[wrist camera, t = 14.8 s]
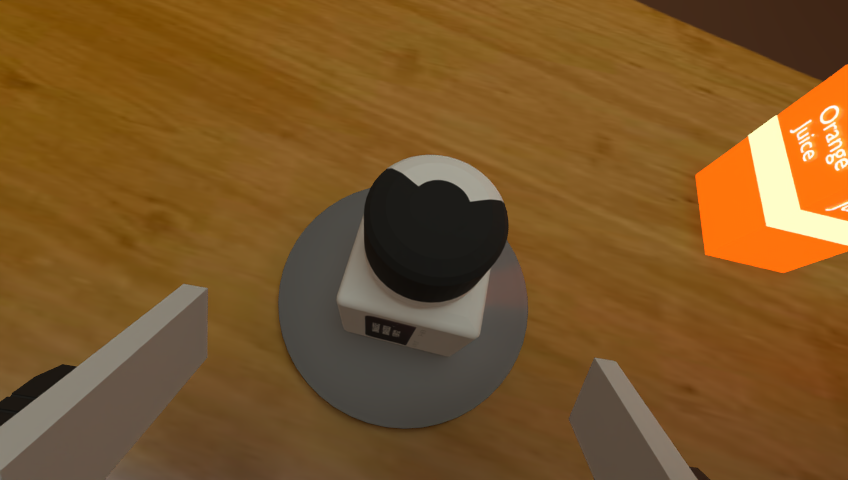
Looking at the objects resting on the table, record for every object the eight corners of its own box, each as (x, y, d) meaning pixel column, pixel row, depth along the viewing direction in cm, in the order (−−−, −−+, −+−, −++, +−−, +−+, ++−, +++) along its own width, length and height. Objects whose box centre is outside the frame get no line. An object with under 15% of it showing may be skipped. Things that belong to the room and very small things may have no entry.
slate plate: (428, 160, 35) (431, 150, 34) (566, 324, 31) (576, 320, 30) (236, 267, 29) (230, 259, 28) (374, 491, 25) (374, 495, 23)
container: (451, 358, 27) (516, 316, 15) (341, 331, 27) (323, 266, 15) (470, 257, 30) (536, 158, 19) (372, 232, 30) (376, 115, 18)
